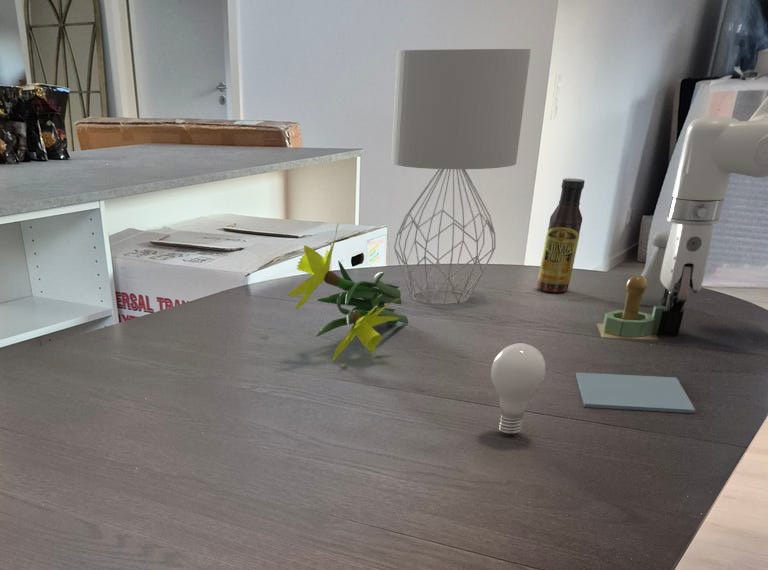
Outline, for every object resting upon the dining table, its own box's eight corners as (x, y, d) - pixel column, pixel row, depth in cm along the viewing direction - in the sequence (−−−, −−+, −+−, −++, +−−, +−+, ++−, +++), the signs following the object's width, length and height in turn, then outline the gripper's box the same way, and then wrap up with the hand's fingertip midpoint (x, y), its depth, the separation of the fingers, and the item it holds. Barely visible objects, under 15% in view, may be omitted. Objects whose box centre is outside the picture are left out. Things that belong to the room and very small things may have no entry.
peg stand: (649, 330, 145) (663, 270, 140) (658, 344, 138) (672, 281, 133) (595, 327, 147) (606, 268, 141) (600, 341, 140) (612, 279, 134)
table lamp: (519, 307, 160) (555, 48, 137) (407, 315, 155) (426, 49, 132) (469, 282, 177) (494, 50, 155) (368, 288, 173) (379, 50, 150)
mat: (675, 380, 122) (676, 377, 122) (694, 413, 111) (695, 409, 111) (575, 375, 125) (576, 372, 124) (584, 407, 113) (584, 403, 113)
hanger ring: (670, 327, 144) (676, 302, 141) (678, 339, 138) (685, 313, 135) (600, 324, 146) (605, 299, 143) (605, 335, 140) (610, 310, 137)
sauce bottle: (534, 292, 169) (551, 180, 158) (538, 286, 174) (555, 176, 163) (568, 295, 167) (587, 181, 156) (571, 288, 172) (590, 177, 161)
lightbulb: (537, 445, 102) (552, 352, 96) (483, 442, 103) (495, 350, 97) (533, 426, 107) (548, 338, 101) (482, 424, 108) (493, 336, 102)
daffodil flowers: (449, 333, 147) (390, 323, 117) (376, 372, 154) (301, 372, 124) (412, 240, 146) (342, 205, 115) (340, 284, 153) (255, 261, 122)
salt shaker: (662, 313, 155) (680, 235, 148) (630, 309, 157) (647, 232, 150) (670, 306, 159) (688, 230, 152) (638, 302, 162) (655, 228, 154)
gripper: (732, 219, 123) (698, 348, 134) (709, 204, 137) (680, 322, 147) (678, 218, 125) (649, 346, 135) (660, 203, 138) (635, 320, 148)
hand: (665, 332), depth 141 cm, fingers closed
